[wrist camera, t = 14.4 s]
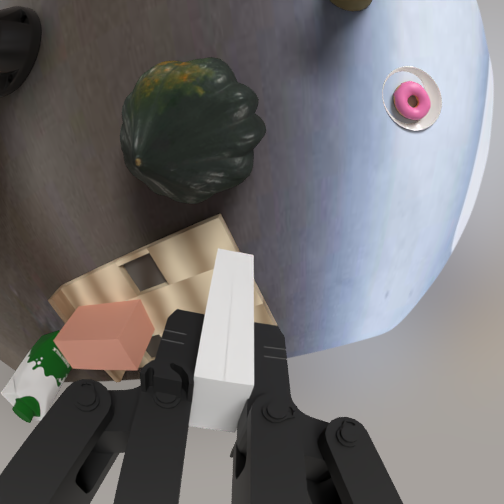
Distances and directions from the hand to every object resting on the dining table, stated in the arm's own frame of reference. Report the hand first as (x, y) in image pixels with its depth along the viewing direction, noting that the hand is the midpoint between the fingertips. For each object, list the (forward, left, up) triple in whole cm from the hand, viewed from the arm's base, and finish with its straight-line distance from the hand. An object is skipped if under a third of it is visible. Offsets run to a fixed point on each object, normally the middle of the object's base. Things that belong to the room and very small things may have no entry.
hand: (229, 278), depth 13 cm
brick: (-16, -28, -24) cm, 40 cm away
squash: (-7, +3, -25) cm, 27 cm away
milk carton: (-31, -44, -25) cm, 60 cm away
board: (-9, -25, -25) cm, 37 cm away
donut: (+17, +15, -26) cm, 35 cm away
